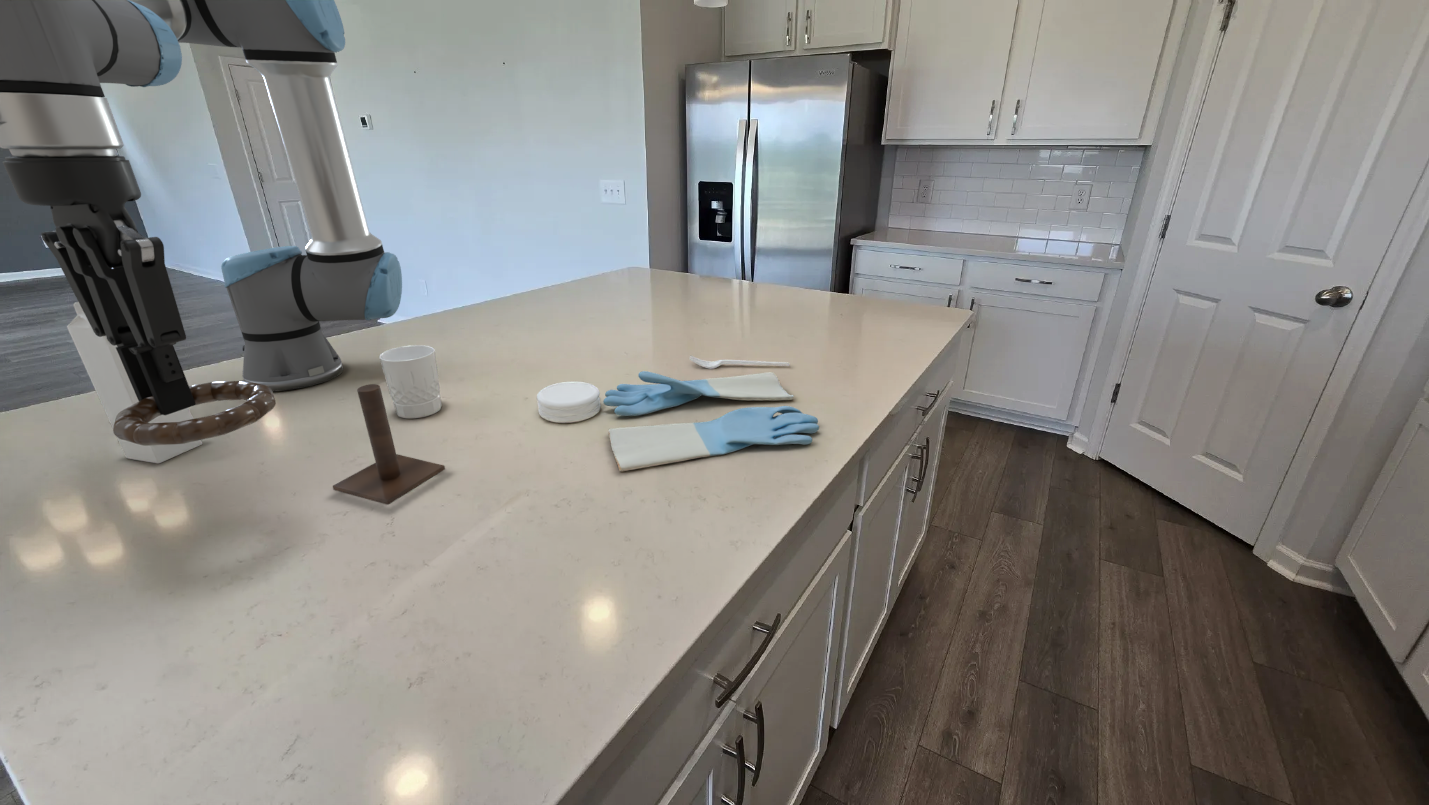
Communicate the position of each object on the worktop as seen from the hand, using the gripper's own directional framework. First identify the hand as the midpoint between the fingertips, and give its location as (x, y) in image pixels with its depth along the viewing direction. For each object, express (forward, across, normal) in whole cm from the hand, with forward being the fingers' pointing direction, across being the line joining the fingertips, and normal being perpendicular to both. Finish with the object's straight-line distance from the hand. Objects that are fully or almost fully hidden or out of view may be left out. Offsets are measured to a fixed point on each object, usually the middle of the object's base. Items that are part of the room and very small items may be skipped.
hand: (169, 406), depth 59 cm
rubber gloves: (+16, +39, +49) cm, 65 cm away
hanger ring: (0, +5, 0) cm, 5 cm away
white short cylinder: (+16, +17, +43) cm, 49 cm away
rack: (+16, +9, +15) cm, 23 cm away
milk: (+16, -28, +10) cm, 34 cm away
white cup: (+16, -6, +34) cm, 38 cm away
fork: (+16, +36, +74) cm, 84 cm away
